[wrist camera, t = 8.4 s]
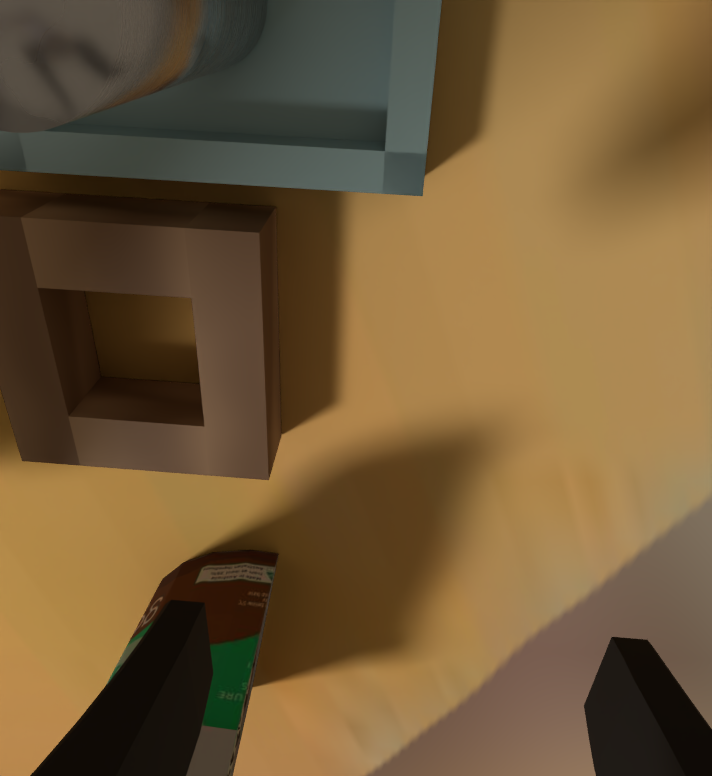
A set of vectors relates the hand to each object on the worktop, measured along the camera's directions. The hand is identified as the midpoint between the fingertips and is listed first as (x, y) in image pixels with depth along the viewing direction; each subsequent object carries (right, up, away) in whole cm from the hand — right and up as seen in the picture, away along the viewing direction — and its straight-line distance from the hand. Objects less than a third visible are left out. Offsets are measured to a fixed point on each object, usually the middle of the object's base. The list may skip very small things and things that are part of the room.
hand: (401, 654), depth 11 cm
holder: (-7, +7, +9) cm, 13 cm away
